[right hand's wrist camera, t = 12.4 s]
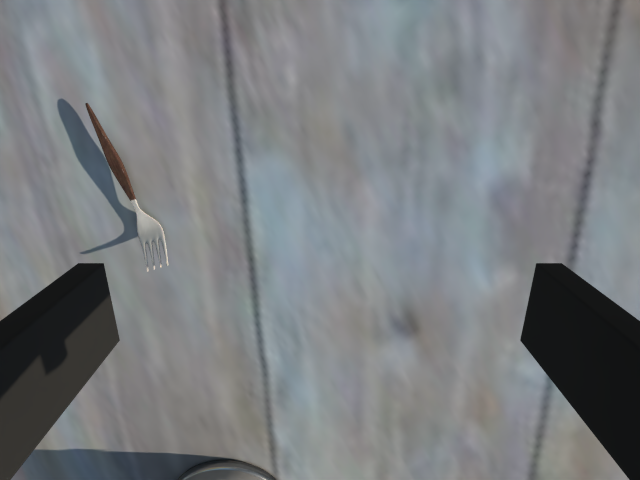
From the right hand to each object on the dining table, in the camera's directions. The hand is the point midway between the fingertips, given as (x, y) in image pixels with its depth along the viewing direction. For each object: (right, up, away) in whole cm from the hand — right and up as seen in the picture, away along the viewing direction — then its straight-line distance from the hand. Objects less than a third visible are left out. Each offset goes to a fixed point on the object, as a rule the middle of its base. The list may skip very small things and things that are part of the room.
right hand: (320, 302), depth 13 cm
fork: (-18, +7, +26) cm, 33 cm away
